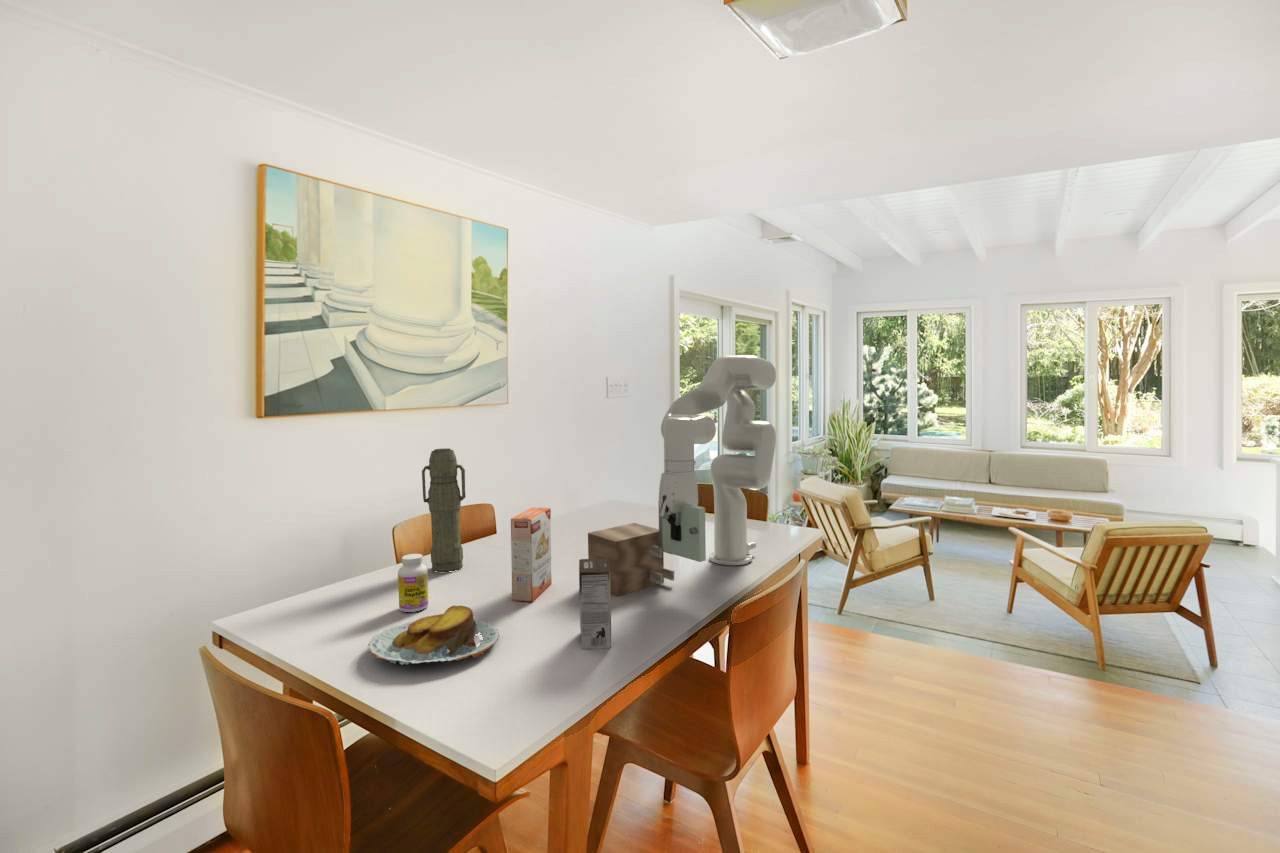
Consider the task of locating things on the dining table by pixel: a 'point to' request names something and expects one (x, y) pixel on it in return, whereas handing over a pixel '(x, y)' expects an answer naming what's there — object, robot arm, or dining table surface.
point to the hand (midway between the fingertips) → (679, 538)
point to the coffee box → (595, 603)
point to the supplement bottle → (413, 584)
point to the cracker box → (531, 553)
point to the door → (685, 534)
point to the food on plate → (434, 638)
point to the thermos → (444, 509)
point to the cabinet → (630, 556)
